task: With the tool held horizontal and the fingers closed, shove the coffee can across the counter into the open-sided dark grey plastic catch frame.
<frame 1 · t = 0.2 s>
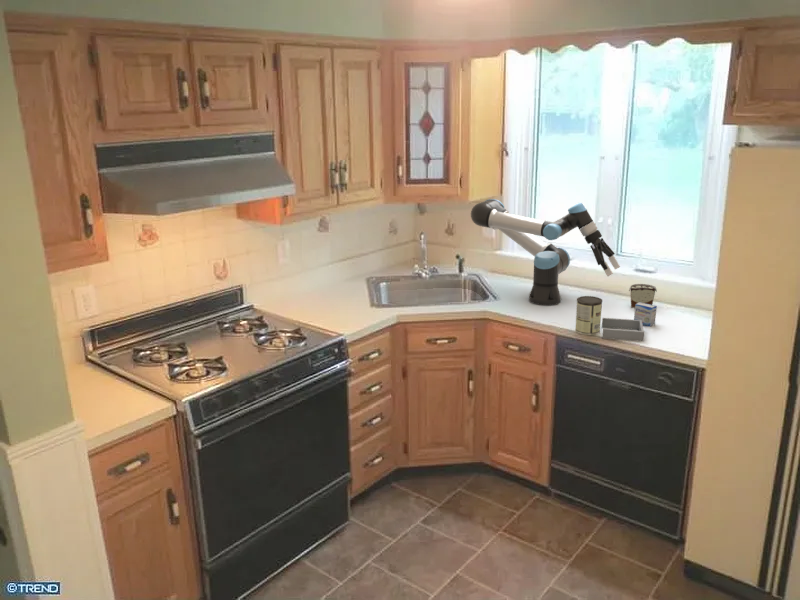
hand: (614, 271, 324), 15 cm above the worktop, tool tilted 35°, fingers open, 13 cm apart
coffee can: (587, 331, 290), on the worktop
catch frame: (621, 333, 286), on the worktop
food container: (639, 306, 322), on the worktop
medicine box: (644, 324, 298), on the worktop
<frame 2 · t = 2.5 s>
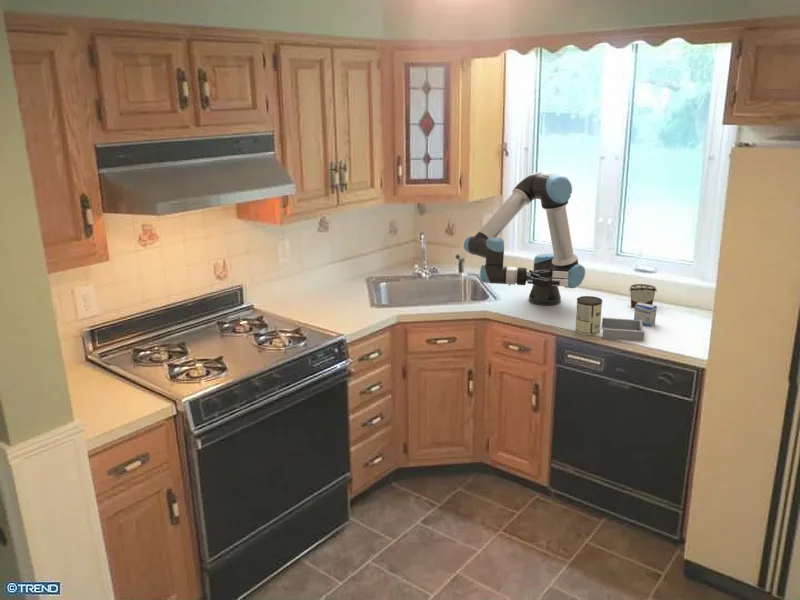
hand: (568, 279, 286), 22 cm above the worktop, tool horizontal, fingers open, 13 cm apart
nothing on the worktop moved.
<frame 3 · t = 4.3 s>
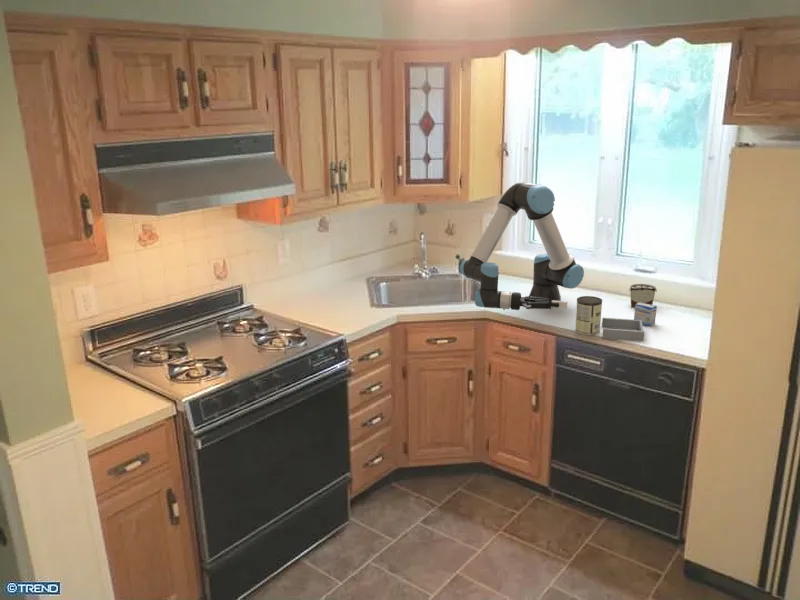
hand: (567, 305, 288), 11 cm above the worktop, tool horizontal, fingers closed
nothing on the worktop moved.
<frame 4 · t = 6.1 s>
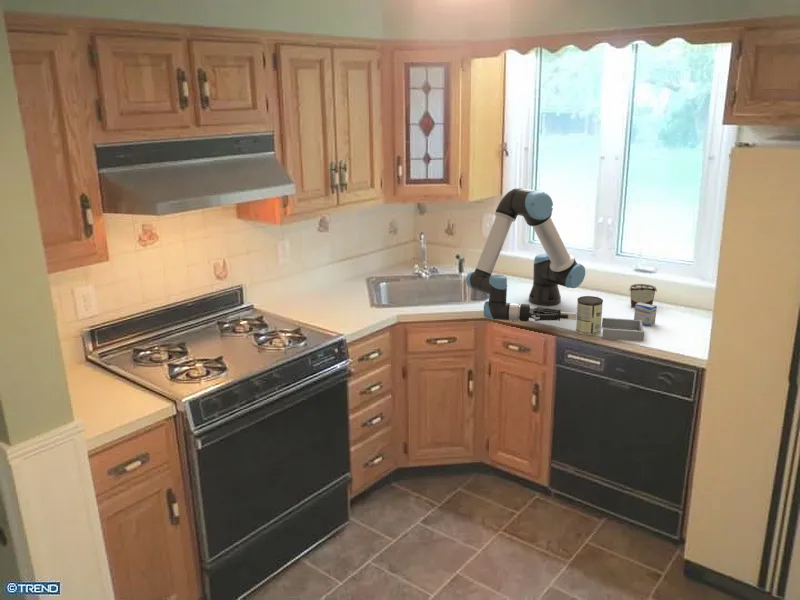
hand: (576, 316, 288), 6 cm above the worktop, tool horizontal, fingers closed
coffee can: (587, 331, 290), on the worktop, touching gripper
everything else where it was.
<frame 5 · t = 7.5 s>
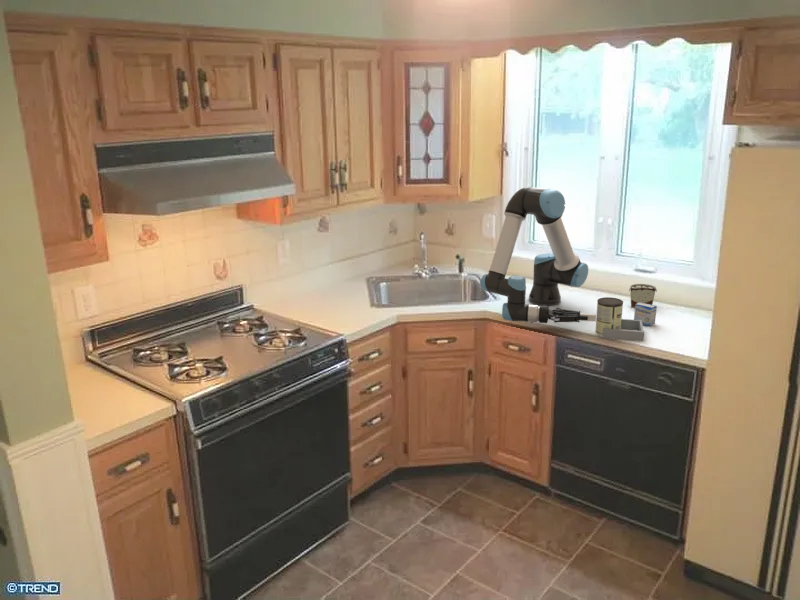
hand: (595, 317, 286), 6 cm above the worktop, tool horizontal, fingers closed
coffee can: (607, 333, 287), on the worktop, touching gripper
everything else where it was.
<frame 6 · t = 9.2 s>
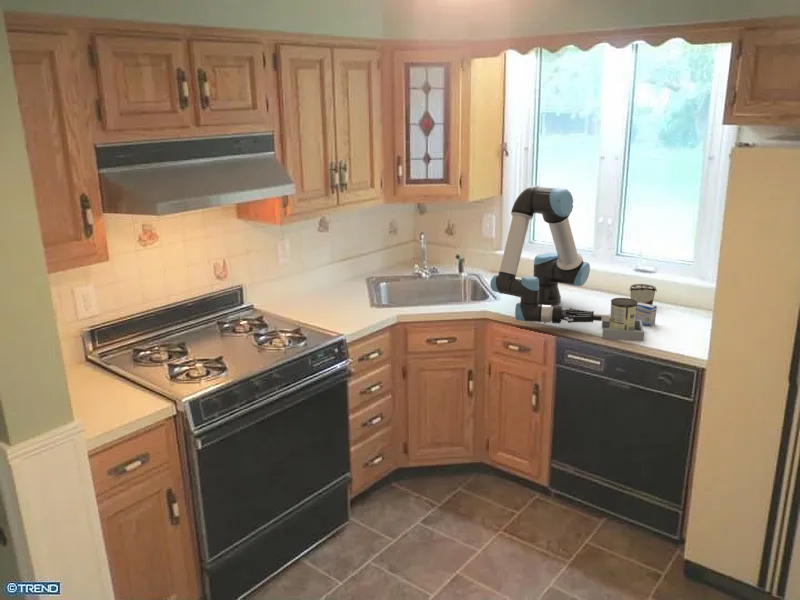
hand: (609, 318, 285), 6 cm above the worktop, tool horizontal, fingers closed
coffee can: (621, 333, 286), on the worktop, touching gripper
everything else where it was.
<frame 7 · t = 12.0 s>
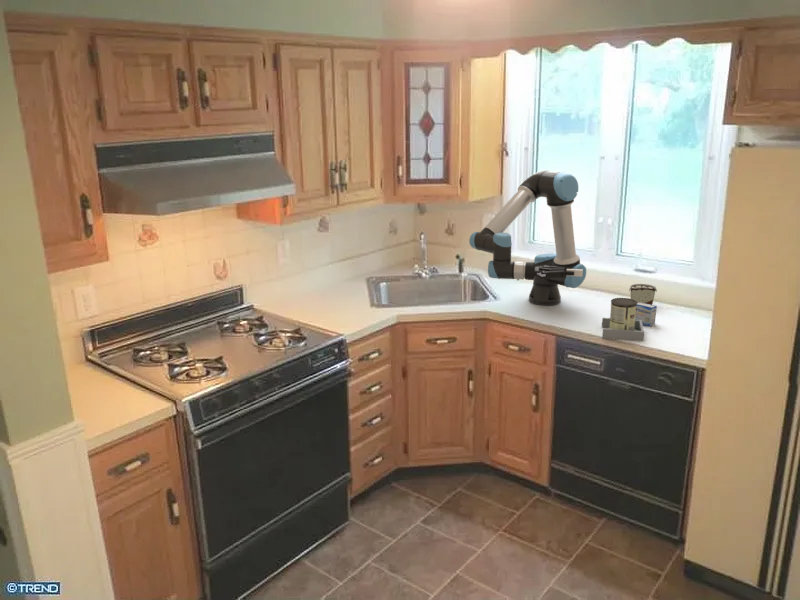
hand: (582, 273, 283), 25 cm above the worktop, tool horizontal, fingers closed
coffee can: (621, 333, 286), on the worktop
everything else where it was.
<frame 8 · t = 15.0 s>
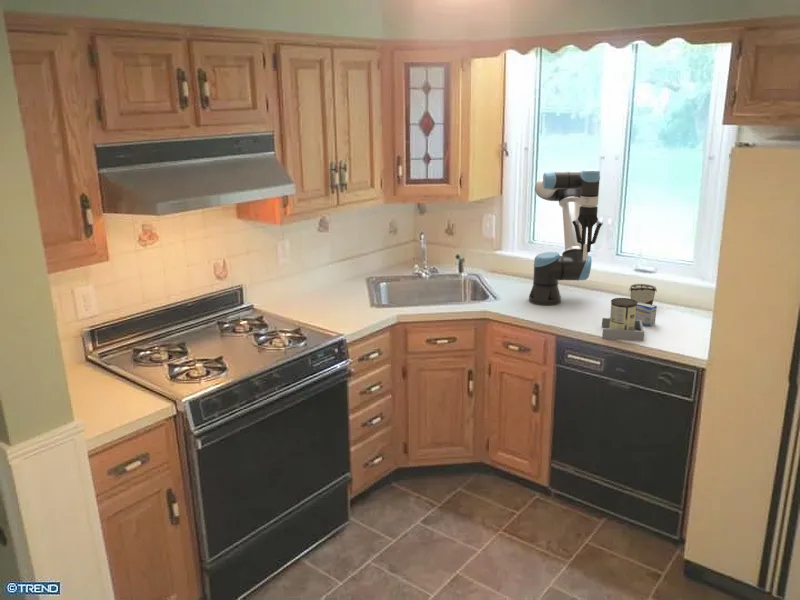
hand: (585, 258, 301), 26 cm above the worktop, tool pointing down, fingers closed
nothing on the worktop moved.
at the end: coffee can inside the target area on the catch frame (0.4 cm from its centre), point 0.0 cm above the catch frame's base; coffee can moved 13.8 cm from its start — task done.
